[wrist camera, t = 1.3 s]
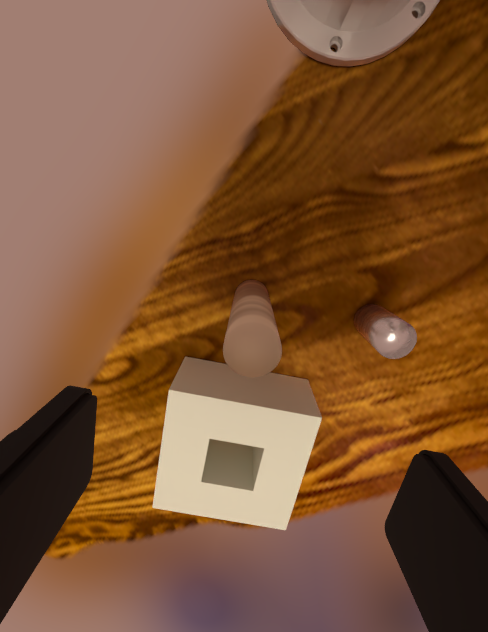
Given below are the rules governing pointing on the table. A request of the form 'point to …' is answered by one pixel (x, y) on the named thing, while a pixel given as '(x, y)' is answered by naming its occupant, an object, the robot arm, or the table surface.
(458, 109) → the table surface
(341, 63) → the robot arm
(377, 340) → the steel stub
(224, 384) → the hole block
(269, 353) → the birch pin
